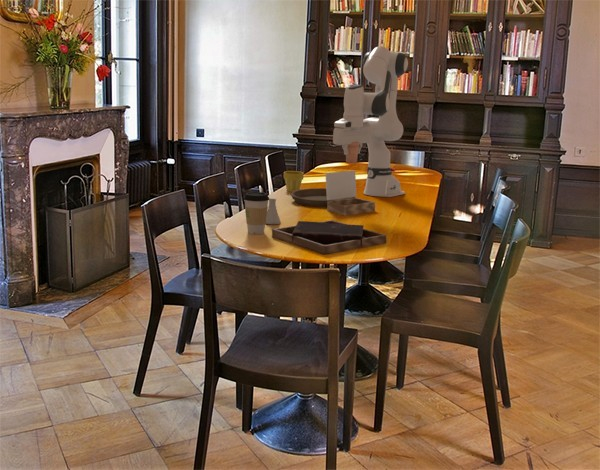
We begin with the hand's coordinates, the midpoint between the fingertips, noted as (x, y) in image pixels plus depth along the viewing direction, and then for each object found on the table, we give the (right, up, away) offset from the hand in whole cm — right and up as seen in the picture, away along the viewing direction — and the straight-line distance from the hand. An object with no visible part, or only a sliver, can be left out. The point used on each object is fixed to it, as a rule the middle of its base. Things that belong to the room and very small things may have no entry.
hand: (351, 154), depth 295 cm
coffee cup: (-40, -35, -39) cm, 66 cm away
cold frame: (-1, -25, +5) cm, 26 cm away
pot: (0, -3, +1) cm, 4 cm away
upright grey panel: (-4, -13, +7) cm, 15 cm away
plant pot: (-26, -13, +53) cm, 61 cm away
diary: (-12, -38, -47) cm, 62 cm away
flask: (-34, -31, -23) cm, 52 cm away
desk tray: (-12, -38, -48) cm, 62 cm away
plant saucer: (-12, -20, +25) cm, 35 cm away
